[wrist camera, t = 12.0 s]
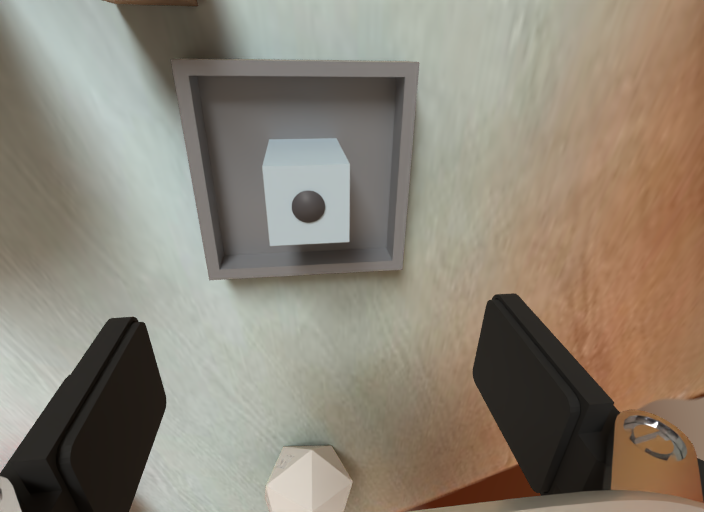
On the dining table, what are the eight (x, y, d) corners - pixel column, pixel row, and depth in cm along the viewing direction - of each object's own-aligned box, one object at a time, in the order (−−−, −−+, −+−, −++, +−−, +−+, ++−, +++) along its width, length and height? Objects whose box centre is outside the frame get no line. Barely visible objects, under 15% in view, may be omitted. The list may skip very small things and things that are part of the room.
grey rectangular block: (336, 138, 27) (350, 164, 21) (337, 201, 29) (349, 242, 23) (269, 139, 26) (262, 166, 20) (274, 203, 28) (269, 246, 22)
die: (300, 409, 40) (239, 506, 34) (375, 455, 38) (326, 566, 32) (294, 436, 46) (242, 523, 40) (359, 477, 44) (315, 574, 38)
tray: (406, 61, 26) (419, 62, 23) (393, 251, 32) (402, 269, 30) (183, 58, 24) (170, 59, 22) (216, 260, 31) (209, 280, 28)
